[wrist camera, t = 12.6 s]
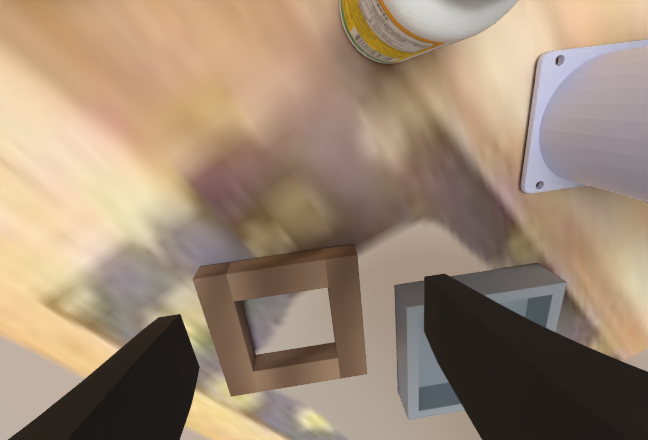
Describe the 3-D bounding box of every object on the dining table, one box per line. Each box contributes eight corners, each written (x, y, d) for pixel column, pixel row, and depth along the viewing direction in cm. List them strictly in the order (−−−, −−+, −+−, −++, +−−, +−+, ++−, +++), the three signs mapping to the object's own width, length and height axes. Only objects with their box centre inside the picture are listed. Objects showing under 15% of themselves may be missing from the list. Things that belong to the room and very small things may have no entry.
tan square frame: (352, 243, 20) (357, 254, 18) (362, 357, 24) (367, 373, 22) (199, 266, 19) (192, 279, 18) (234, 378, 23) (231, 396, 22)
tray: (537, 263, 22) (566, 282, 20) (518, 370, 26) (541, 397, 23) (394, 285, 21) (406, 307, 19) (397, 390, 25) (408, 420, 23)
